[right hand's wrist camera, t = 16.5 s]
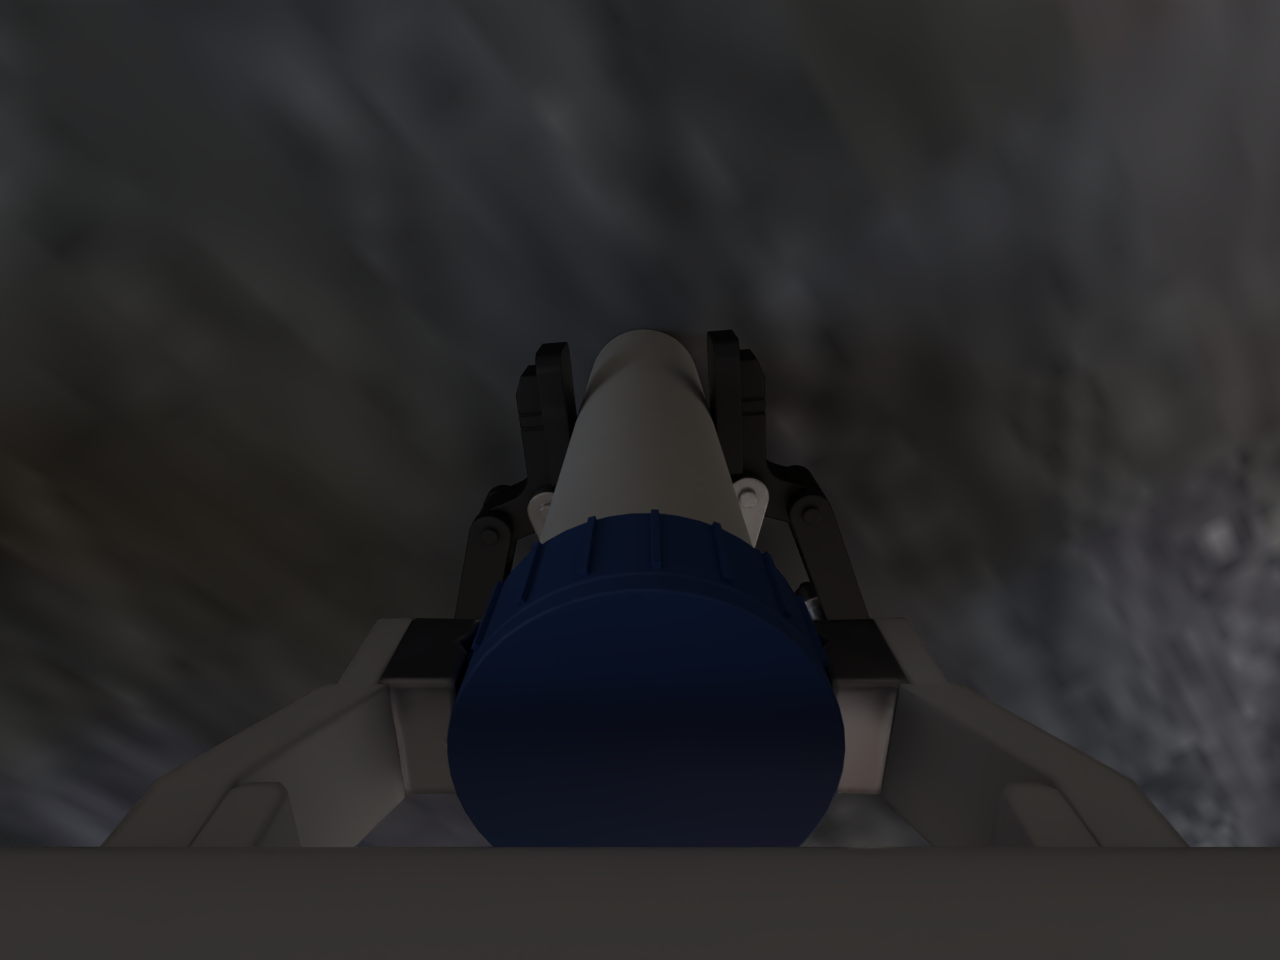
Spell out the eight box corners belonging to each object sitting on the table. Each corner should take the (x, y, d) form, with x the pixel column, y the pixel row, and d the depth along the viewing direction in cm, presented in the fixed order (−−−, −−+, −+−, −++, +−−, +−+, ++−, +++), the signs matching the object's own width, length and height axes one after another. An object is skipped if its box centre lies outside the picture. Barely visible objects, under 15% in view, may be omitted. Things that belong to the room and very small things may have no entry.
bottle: (653, 306, 26) (677, 533, 8) (719, 392, 27) (863, 754, 9) (568, 373, 27) (421, 710, 9) (634, 454, 28) (620, 890, 10)
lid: (413, 596, 10) (357, 691, 8) (728, 446, 9) (752, 512, 7) (579, 825, 12) (566, 952, 10) (862, 715, 11) (910, 829, 9)
